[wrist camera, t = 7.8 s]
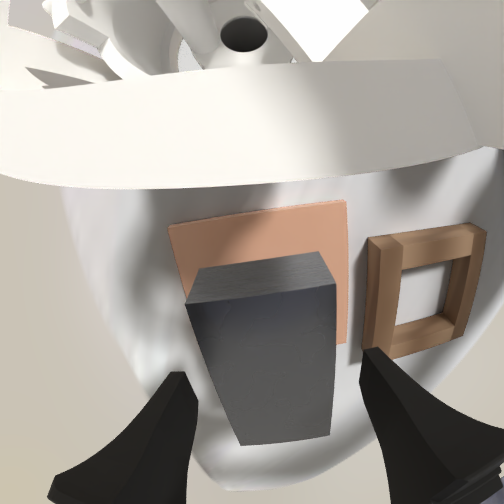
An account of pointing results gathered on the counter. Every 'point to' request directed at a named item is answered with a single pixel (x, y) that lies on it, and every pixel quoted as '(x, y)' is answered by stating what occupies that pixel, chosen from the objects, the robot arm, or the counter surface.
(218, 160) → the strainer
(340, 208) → the terracotta coaster
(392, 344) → the walnut holder
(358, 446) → the counter surface
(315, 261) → the dark grey block
